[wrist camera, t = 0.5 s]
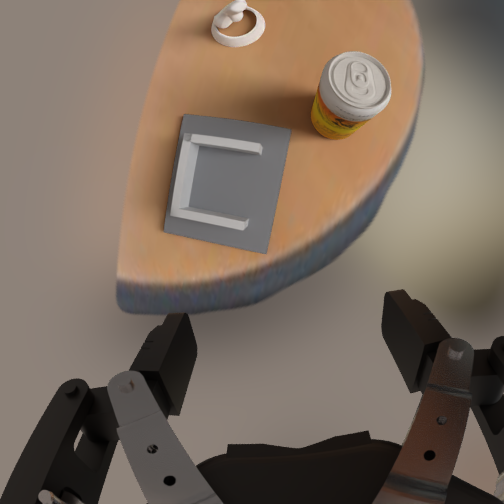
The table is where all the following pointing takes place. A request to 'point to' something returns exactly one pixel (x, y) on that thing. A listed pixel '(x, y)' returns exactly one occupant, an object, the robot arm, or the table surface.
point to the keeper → (226, 181)
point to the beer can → (349, 94)
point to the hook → (234, 15)
